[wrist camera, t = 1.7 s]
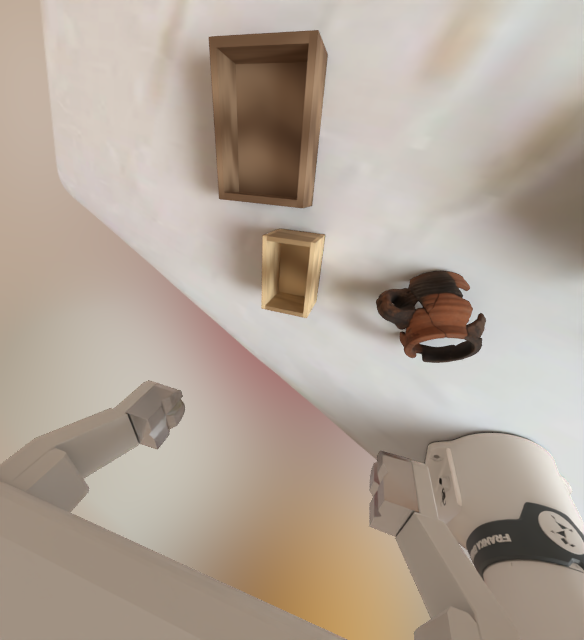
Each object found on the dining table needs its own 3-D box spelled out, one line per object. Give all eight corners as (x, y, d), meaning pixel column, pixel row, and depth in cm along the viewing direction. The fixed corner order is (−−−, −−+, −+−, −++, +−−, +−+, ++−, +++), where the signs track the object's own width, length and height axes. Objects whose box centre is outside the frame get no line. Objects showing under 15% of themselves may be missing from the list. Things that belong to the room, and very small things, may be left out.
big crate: (312, 205, 29) (302, 208, 26) (237, 197, 32) (219, 199, 28) (327, 54, 23) (318, 30, 19) (232, 57, 25) (208, 36, 22)
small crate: (316, 300, 35) (306, 318, 30) (276, 293, 36) (261, 308, 32) (325, 234, 30) (315, 242, 26) (279, 228, 32) (262, 235, 27)
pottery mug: (493, 275, 28) (518, 340, 23) (437, 318, 36) (448, 372, 31) (391, 251, 27) (397, 314, 22) (357, 300, 35) (357, 354, 30)
